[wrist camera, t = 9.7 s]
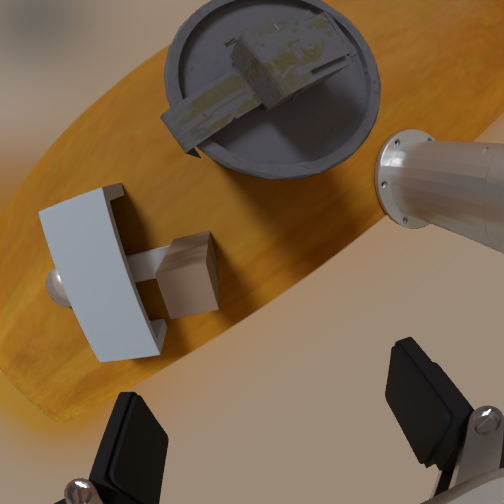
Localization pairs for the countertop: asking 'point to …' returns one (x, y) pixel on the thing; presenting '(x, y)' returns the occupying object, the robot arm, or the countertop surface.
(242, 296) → the countertop surface
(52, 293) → the token
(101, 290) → the shelf
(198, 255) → the pusher
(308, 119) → the canister
